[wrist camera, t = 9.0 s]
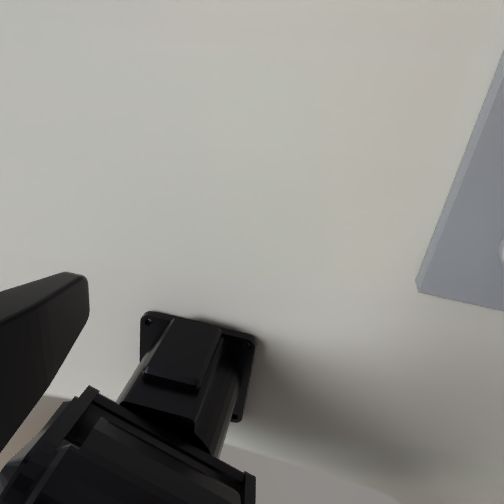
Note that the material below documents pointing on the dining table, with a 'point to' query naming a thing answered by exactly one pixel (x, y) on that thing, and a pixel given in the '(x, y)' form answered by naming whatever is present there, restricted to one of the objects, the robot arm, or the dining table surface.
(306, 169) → the dining table surface
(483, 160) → the peg plate
